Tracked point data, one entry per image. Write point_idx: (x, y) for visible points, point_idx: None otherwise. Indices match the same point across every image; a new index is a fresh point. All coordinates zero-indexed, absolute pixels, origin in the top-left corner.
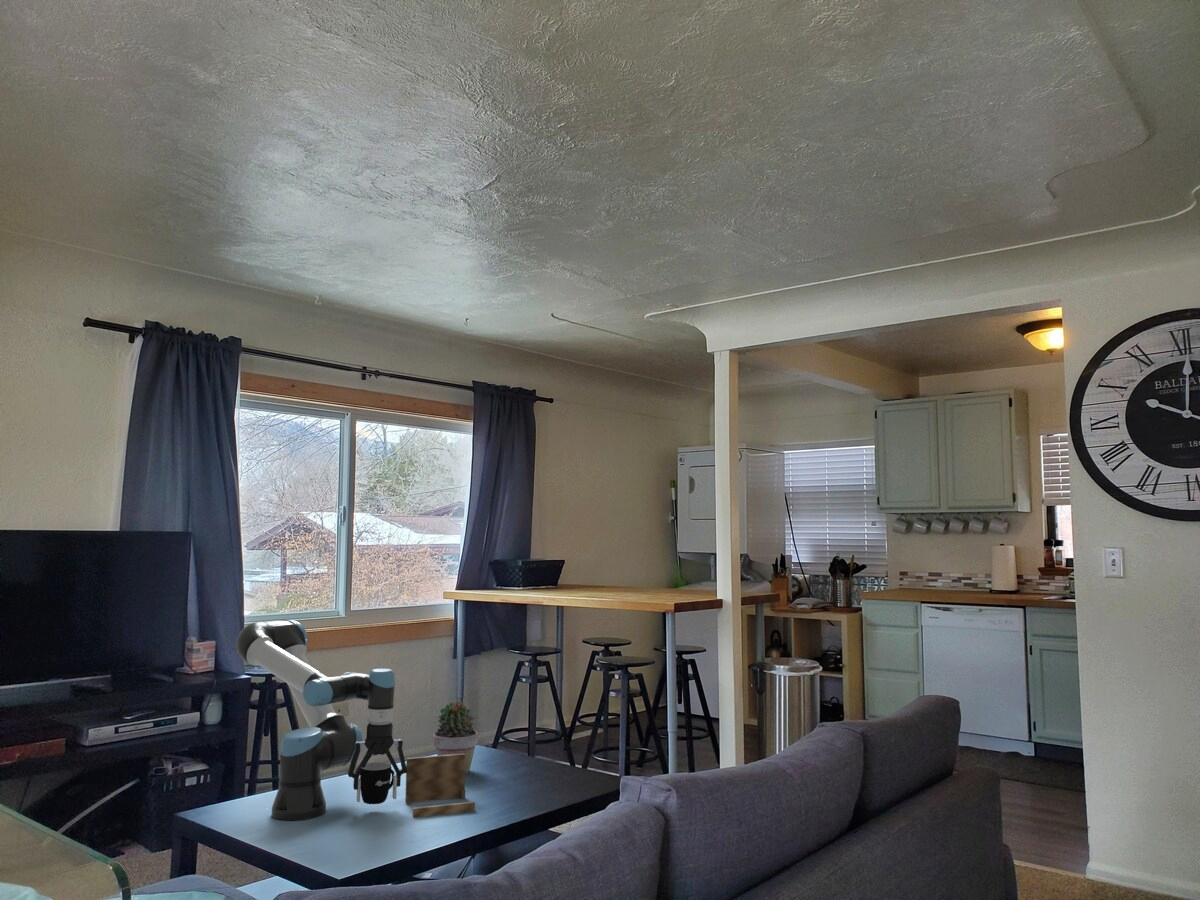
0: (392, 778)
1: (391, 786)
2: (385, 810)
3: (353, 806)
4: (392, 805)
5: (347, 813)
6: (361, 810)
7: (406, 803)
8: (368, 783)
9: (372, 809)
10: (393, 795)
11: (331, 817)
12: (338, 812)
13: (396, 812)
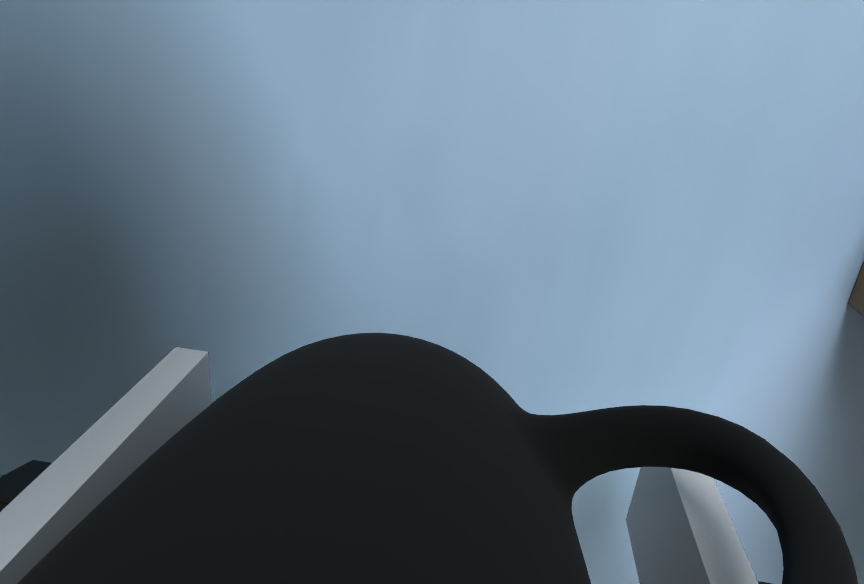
0: (765, 506)
1: (681, 465)
2: (533, 403)
3: (224, 70)
4: (671, 258)
5: (153, 316)
6: (296, 282)
7: (859, 279)
8: None
9: (413, 303)
10: (637, 533)
11: (14, 366)
12: (65, 237)
13: (613, 515)
